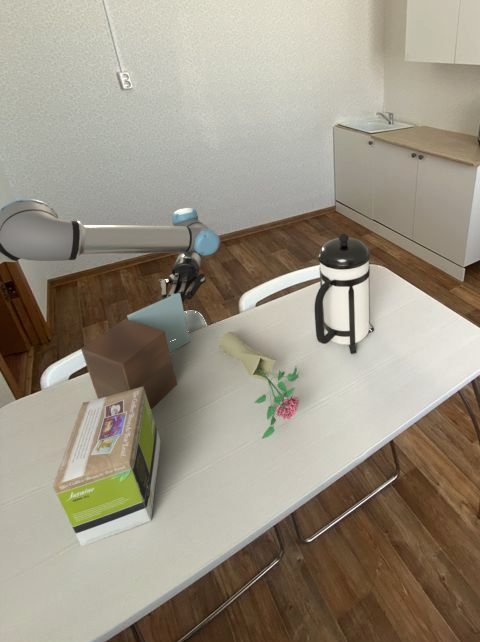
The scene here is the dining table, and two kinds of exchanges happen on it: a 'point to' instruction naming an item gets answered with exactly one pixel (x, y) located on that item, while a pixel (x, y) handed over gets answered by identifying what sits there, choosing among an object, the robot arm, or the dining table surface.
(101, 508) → the tea box
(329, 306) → the coffee press
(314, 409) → the dining table surface
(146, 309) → the door
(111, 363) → the cabinet
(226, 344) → the flower vase
